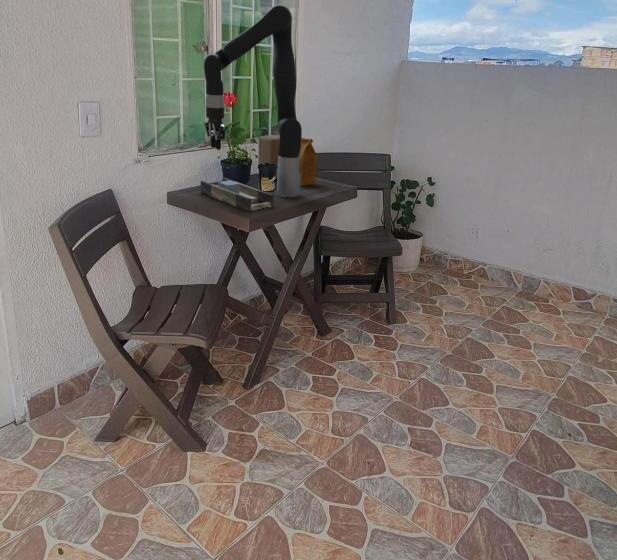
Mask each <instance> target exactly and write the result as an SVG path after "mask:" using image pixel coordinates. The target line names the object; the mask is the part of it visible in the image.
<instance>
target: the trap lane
mask: <svg viewBox="0 0 617 560" xmlns="http://www.w3.org/2000/svg"><path fill="white" fill-rule="evenodd" d="M221 179H222V180H221V182H222V181H229V180H230V181H233V182H236V183H239V193H234V192H232V191H229V190H226V189H224V188H221V187H218V184H217V185H215V184H212V183H210V182H207V181H205V180H200V193H202V194H204V195H207V196H209V197H212V198H214V199H216V200H219V201H221V202H224V203H225V204H229V205H231V206H234V207H236V208H239V209H242V210H244V211H246V210H247V212H252V210H253V211H258V210H257V209H259V210H262V208H264V209H267V208H266V207H269V208H272V207H271V206H273V207H274V194H272V193H269V192H266V191H264V190H260V189H258V188H255V187H252V186H250V185H247V184H244V183H242V182H238V181H235V180H232V179H229V178H227V177H222V178H221Z"/></svg>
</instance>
